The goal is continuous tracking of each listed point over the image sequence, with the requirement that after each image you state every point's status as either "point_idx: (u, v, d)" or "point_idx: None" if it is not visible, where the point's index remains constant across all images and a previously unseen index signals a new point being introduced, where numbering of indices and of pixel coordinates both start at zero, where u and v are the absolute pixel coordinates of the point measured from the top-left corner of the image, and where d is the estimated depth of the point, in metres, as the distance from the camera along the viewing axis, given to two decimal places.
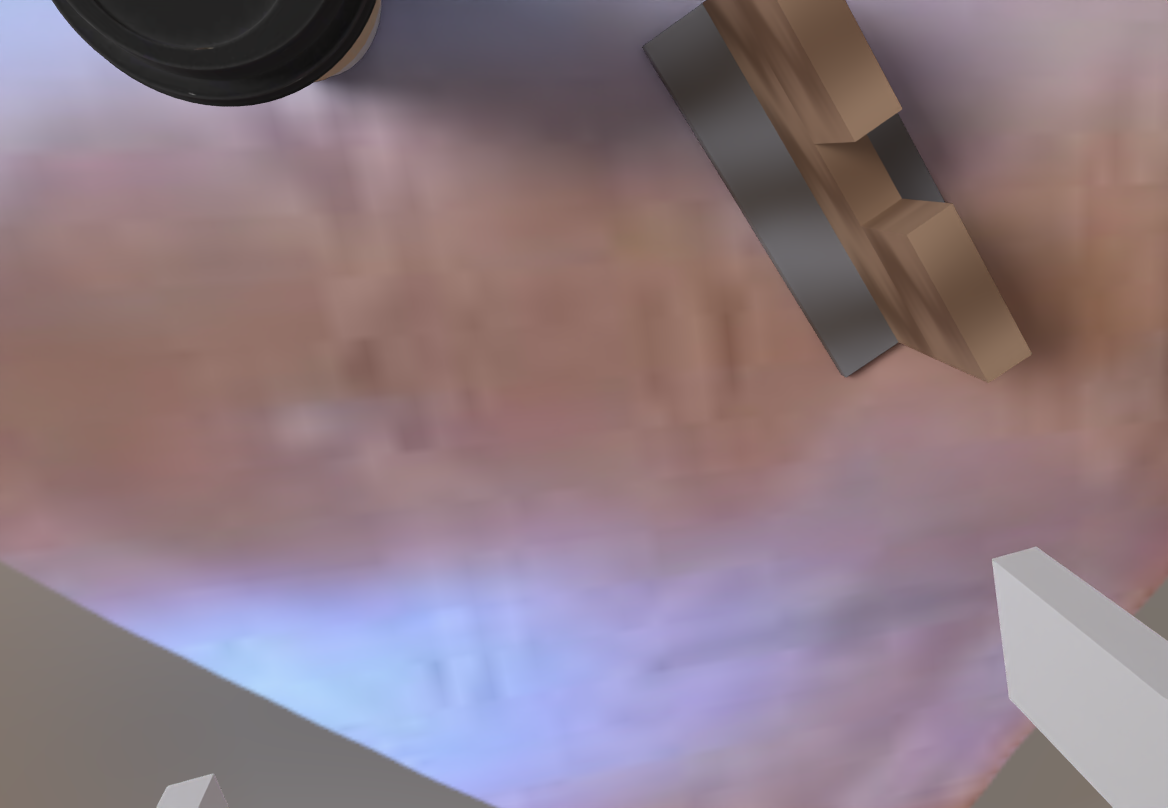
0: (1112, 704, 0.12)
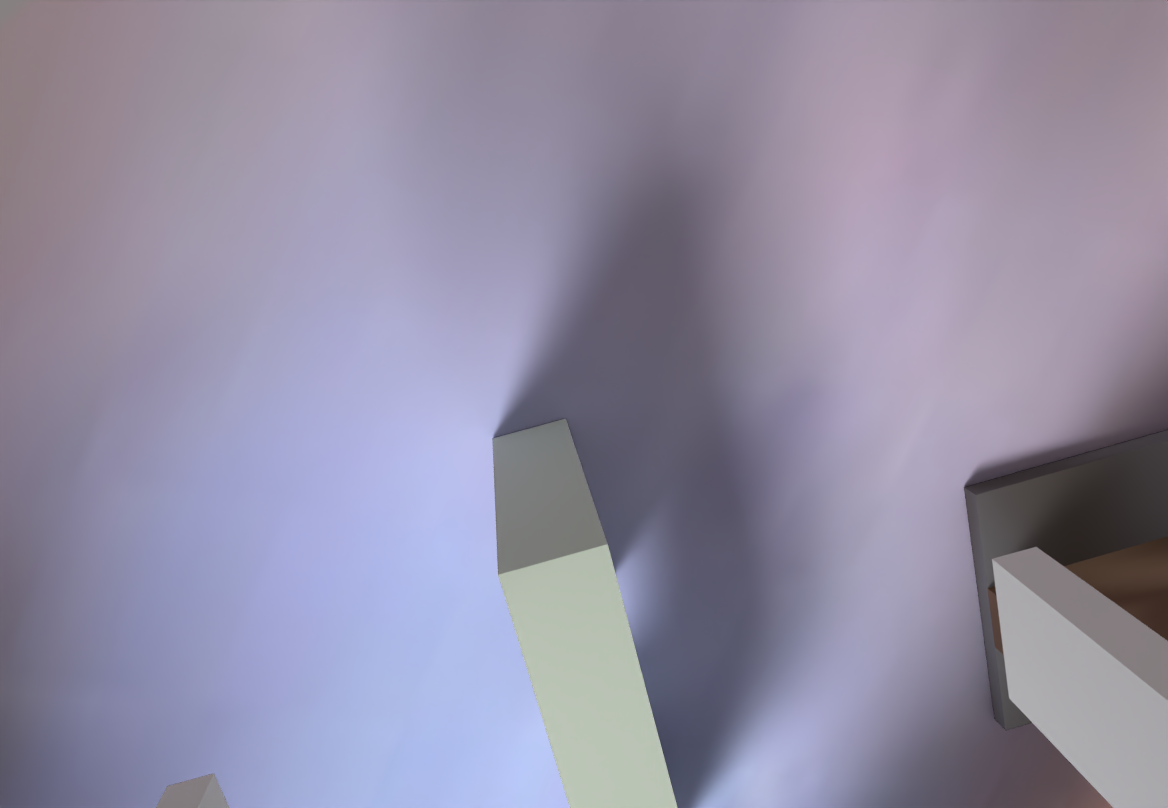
0: (1112, 704, 0.12)
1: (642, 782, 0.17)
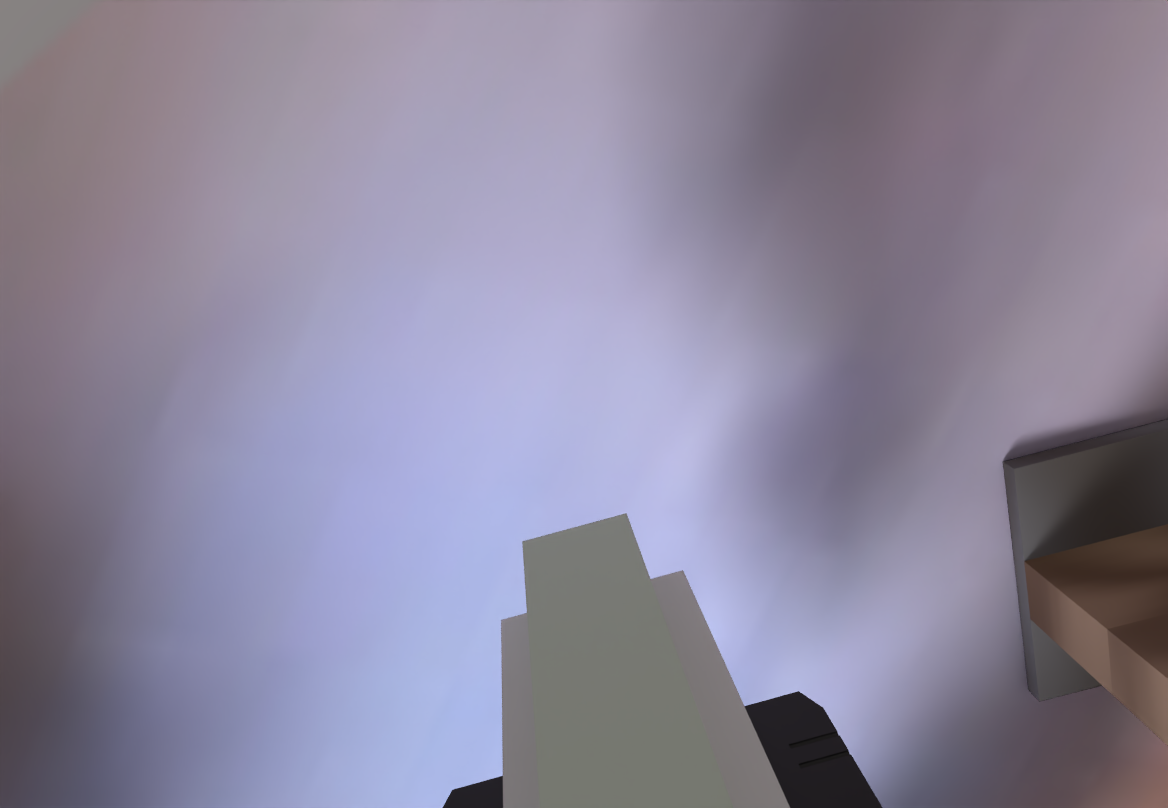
0: None
1: None
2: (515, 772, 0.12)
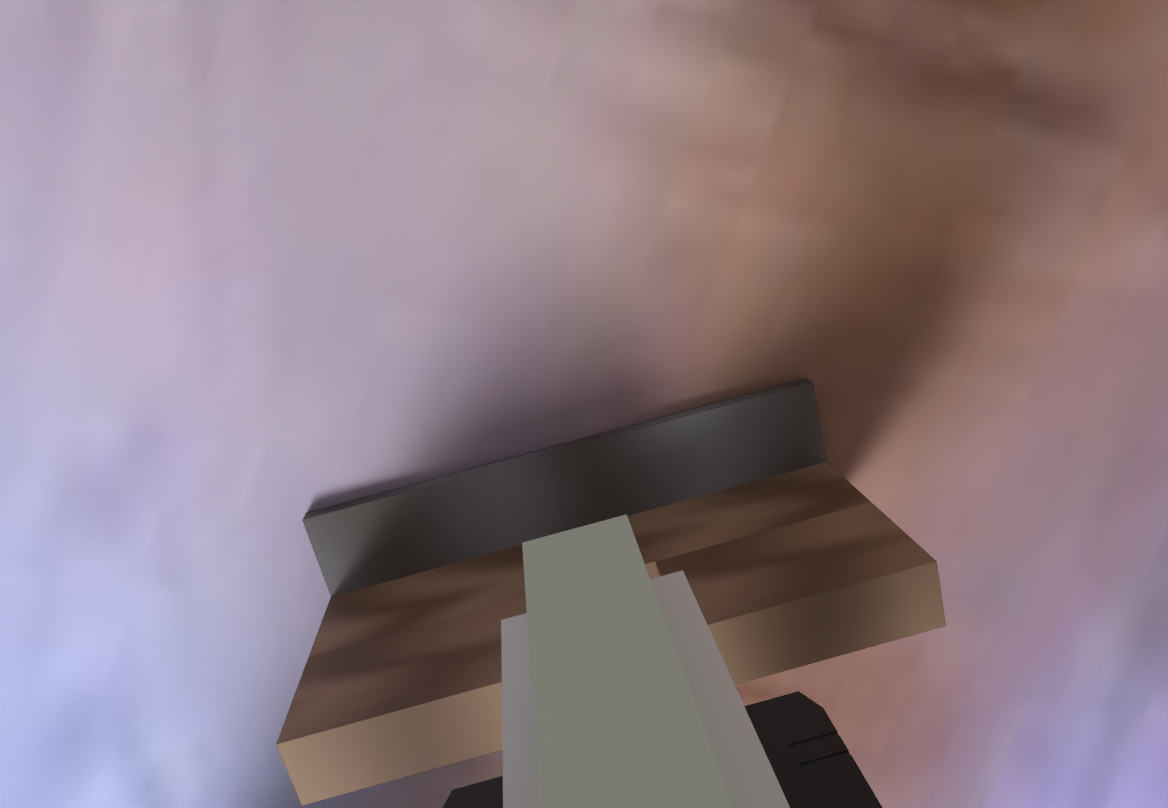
0: None
1: None
2: (515, 772, 0.12)
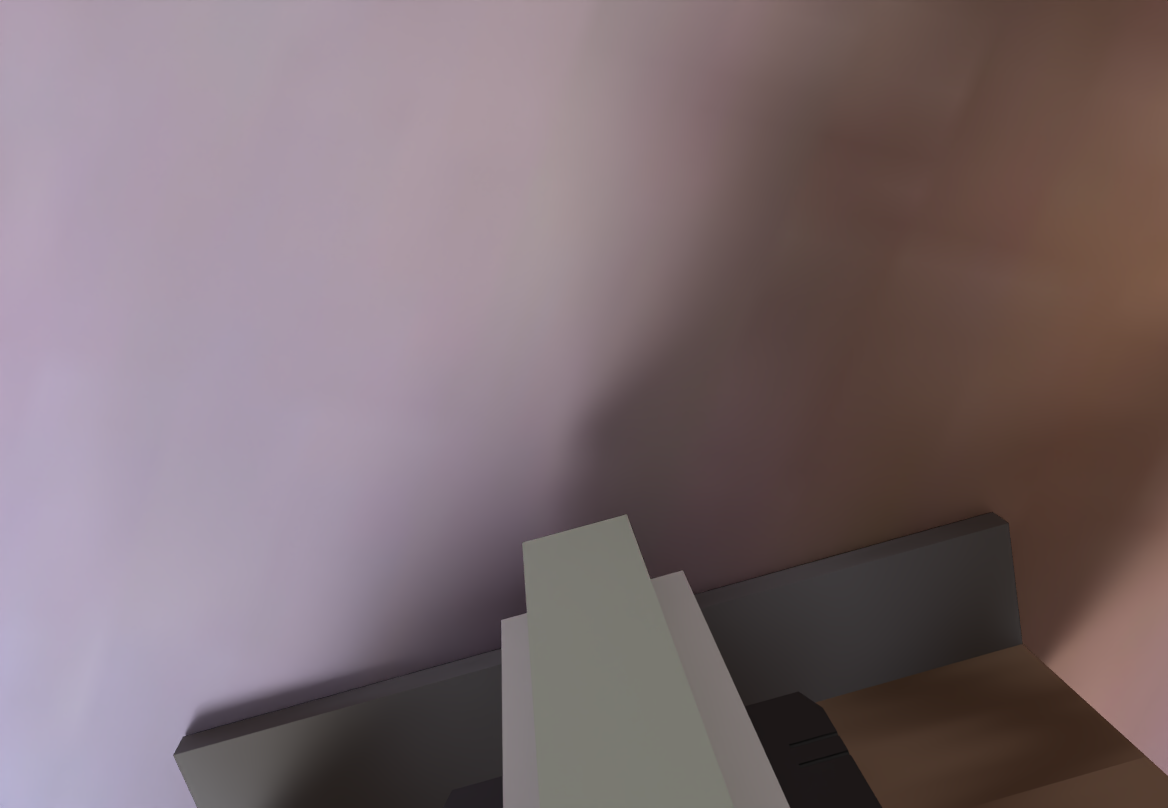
0: None
1: None
2: (515, 772, 0.12)
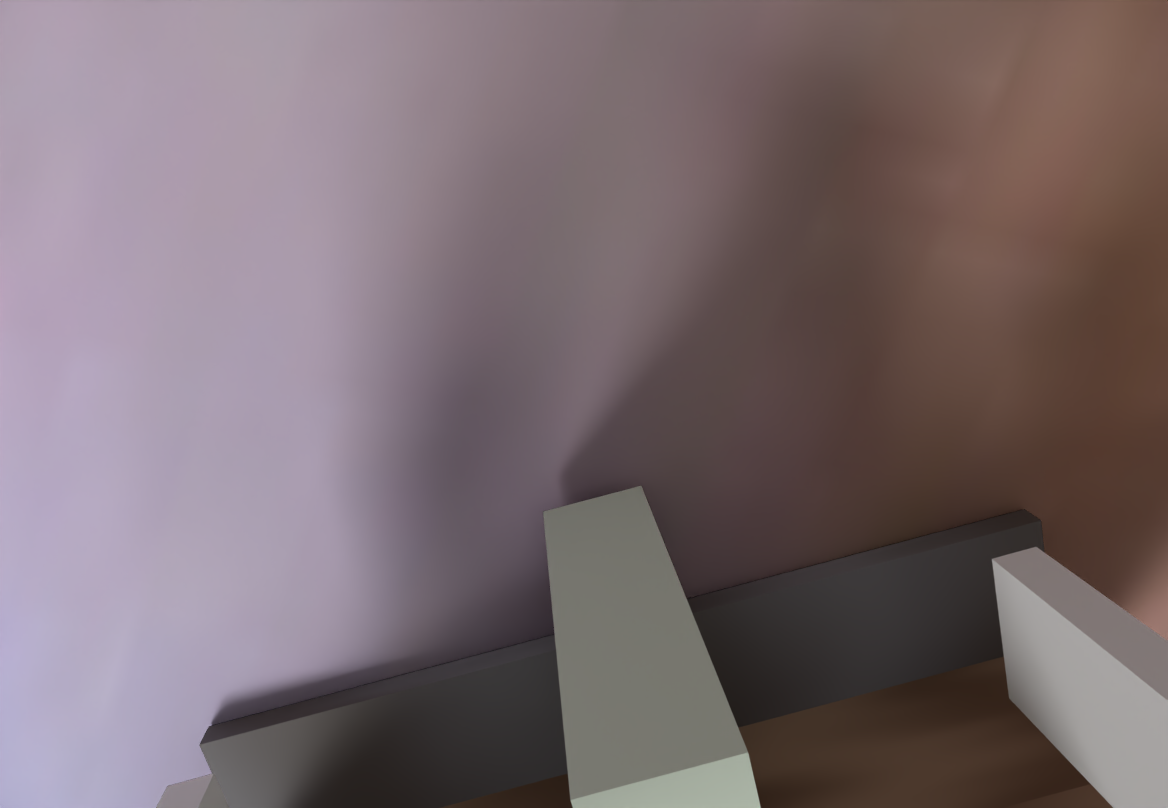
0: (1112, 704, 0.12)
1: None
2: None
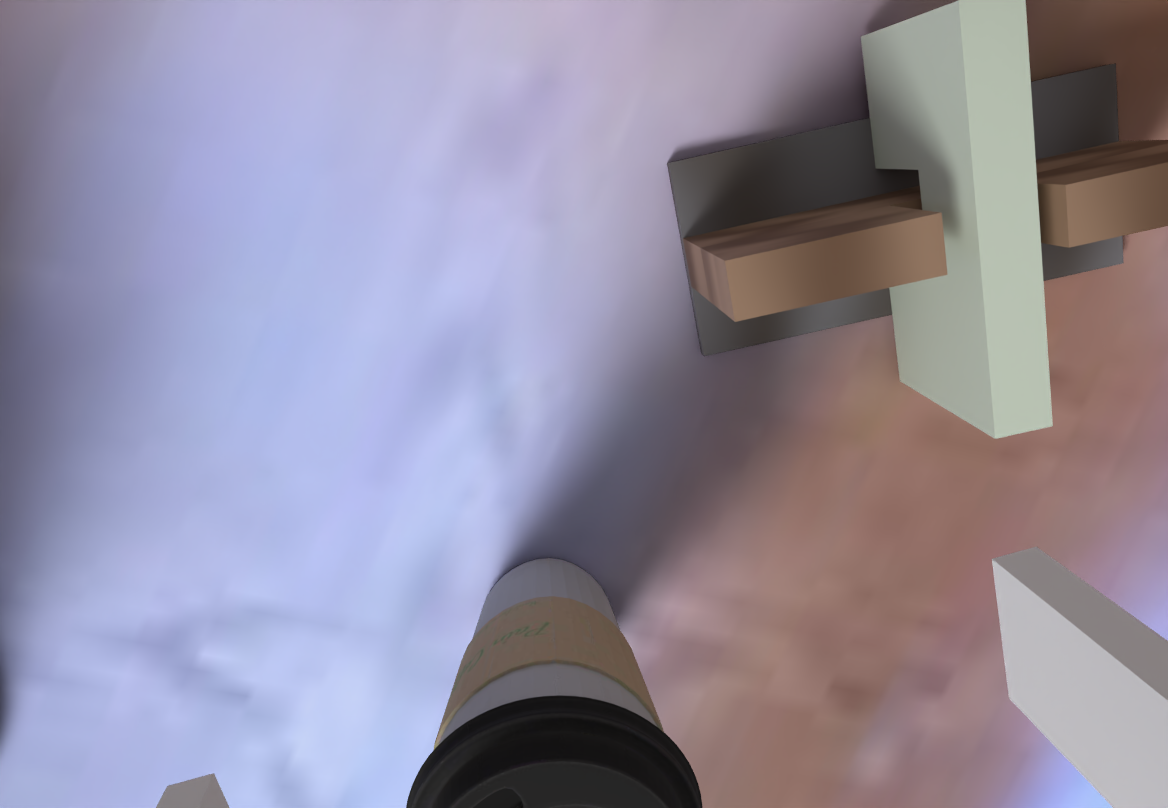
0: (1112, 704, 0.12)
1: (1018, 162, 0.27)
2: None
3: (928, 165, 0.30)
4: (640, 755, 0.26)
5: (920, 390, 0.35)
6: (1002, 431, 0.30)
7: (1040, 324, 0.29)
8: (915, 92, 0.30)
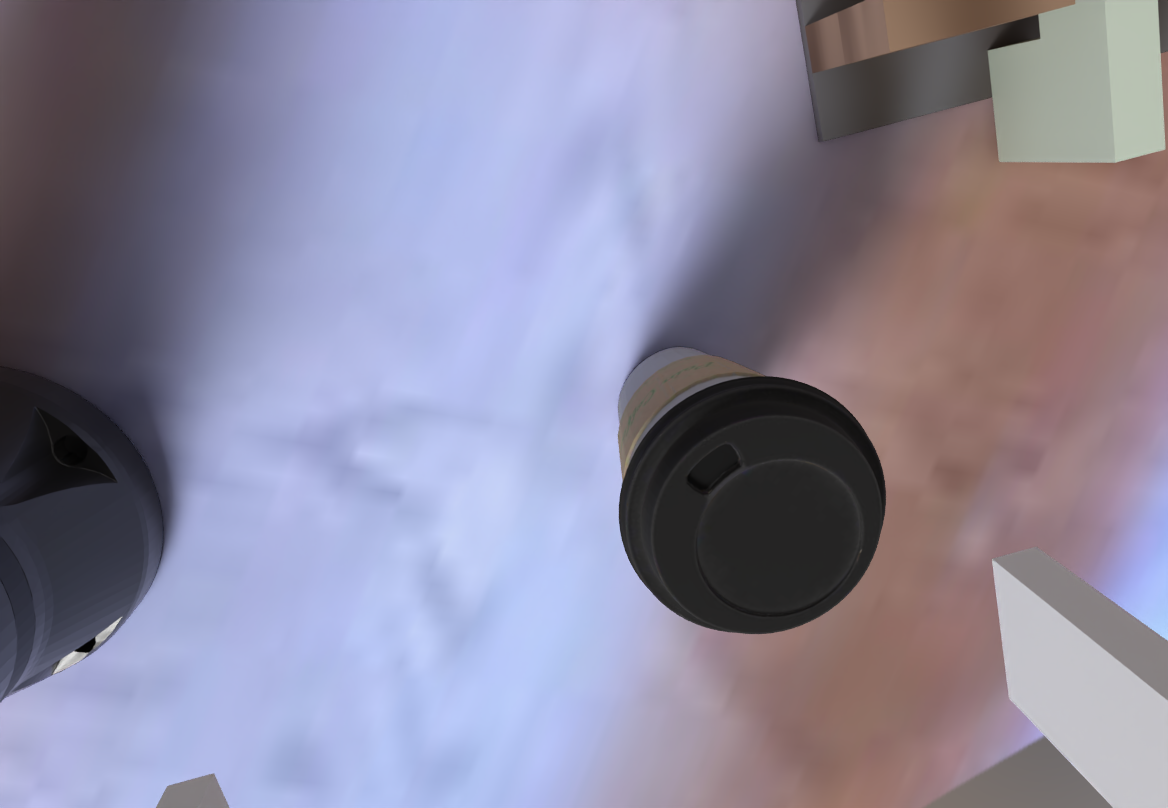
0: (1112, 704, 0.12)
1: None
2: None
3: None
4: (835, 423, 0.29)
5: (1025, 159, 0.39)
6: (1121, 155, 0.33)
7: (1155, 51, 0.32)
8: None
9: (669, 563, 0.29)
